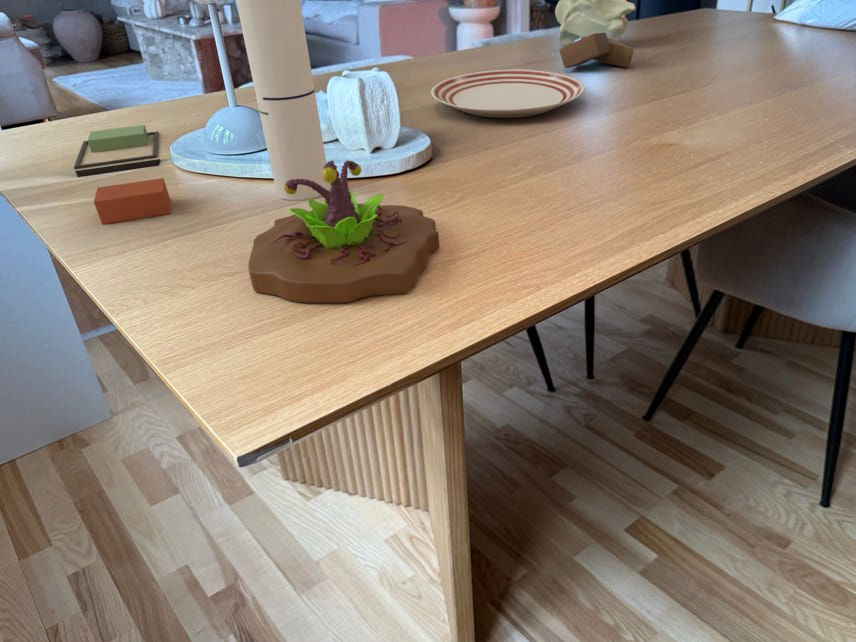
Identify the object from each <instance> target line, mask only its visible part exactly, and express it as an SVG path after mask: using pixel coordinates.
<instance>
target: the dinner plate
mask: <svg viewBox="0 0 856 642" xmlns="http://www.w3.org/2000/svg"><path fill="white" fill-rule="evenodd" d="M585 89H586V88H585V84H584V83H583V82H582V81H580V80H579V79H577V78H575V77H573V76H570V75H566V74H562V73H558V72H552V71H546V70H545V71H544V70H538V69H537V70H536V69H535V70H534V69H515V68H514V69H494V70H485V71H476V72H471V73H465V74H461V75H456V76H452V77H450V78H445V79H444V80H442V81H439V82H437V83H436V84H435V85H434V86H433V87H432V88H431V90H430V94H431V96H432V98H434V99H435V100H436V101H438V102H439V103H441V104H443V105H445V106H447V107H449V108H452V109H454V110H457V111H460V112H463V113H466V114H468V115H472V116H477V117H482V118H493V119H494V118H495V119H501V118H502V119H510V118H511V119H512V118H523V117H532V116H536V115H540V114H544V113H547V112H549V111H552V110H554V109H557V108H559V107H562V106H564V105H566V104H569V103H570V102H572V101H574V100H576V99H578V98H580V97H581V96H582V95H583V94H584V92H585Z"/></svg>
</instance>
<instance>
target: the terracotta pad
mask: <svg viewBox="0 0 856 642" xmlns="http://www.w3.org/2000/svg"><path fill="white" fill-rule="evenodd" d="M93 204H94V208H95V210H96V212H97V215H98V218H99V221H100V223H101V225H110V224H117V223H121V222H128V221H133V220H140V219H147V218H150V217H151V218H152V217H158V216H165V215H170V214H171V198H170V195H169V191H168V188H167V184H166V180H165V178H164V177H160V178H153V179H147V180H140V181H133V182H126V183H119V184H112V185H105V186H100V187H97V188H96V192H95V195H94V199H93Z"/></svg>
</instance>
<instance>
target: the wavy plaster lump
mask: <svg viewBox="0 0 856 642" xmlns="http://www.w3.org/2000/svg"><path fill="white" fill-rule="evenodd" d="M634 11H636V5H635V2H630V1H626V0H558V2H557V4H556V6H555V11H554V15H555V18H556V21H557V23H558V24H559V25H560V26H559V33H558V36H557V39H558V42H559V43H560V45H561V46H562V47H565V46H567V45H569V44H571V43H573V42H576V41H578V40H580V39H582V37H584V36H589V35H591V34H596V33H606V35H607V38H609V39H613V40H616V41H618V42H620V39H621V37H622V36H623V35H624V33H625V31H626V30H627V29H626V28H627V27H628V24H629V20H628V18H627V17H624V16H626V15H629V14H630V13H632V12H634Z"/></svg>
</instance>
